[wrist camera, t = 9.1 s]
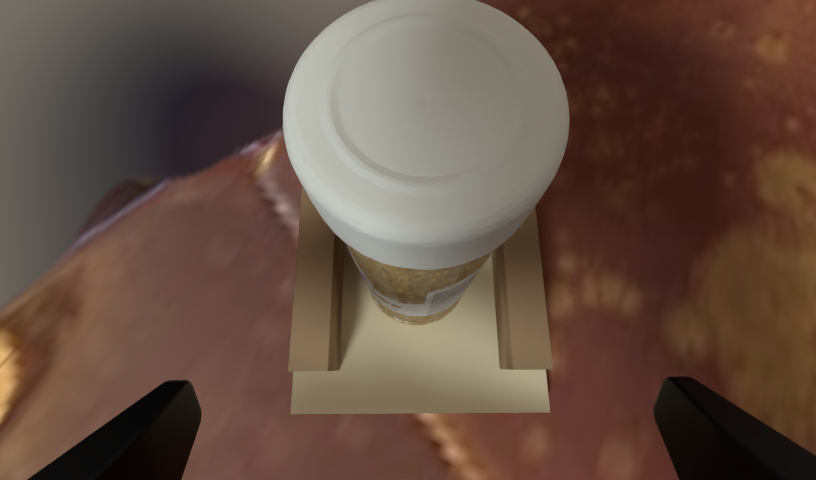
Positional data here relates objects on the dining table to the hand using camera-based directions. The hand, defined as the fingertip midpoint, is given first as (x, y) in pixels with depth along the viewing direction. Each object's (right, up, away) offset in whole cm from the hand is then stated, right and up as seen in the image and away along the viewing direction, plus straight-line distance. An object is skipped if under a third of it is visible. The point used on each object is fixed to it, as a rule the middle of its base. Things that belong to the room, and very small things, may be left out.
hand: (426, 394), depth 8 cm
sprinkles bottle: (0, +1, +11) cm, 11 cm away
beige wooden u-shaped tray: (0, +1, +12) cm, 12 cm away
